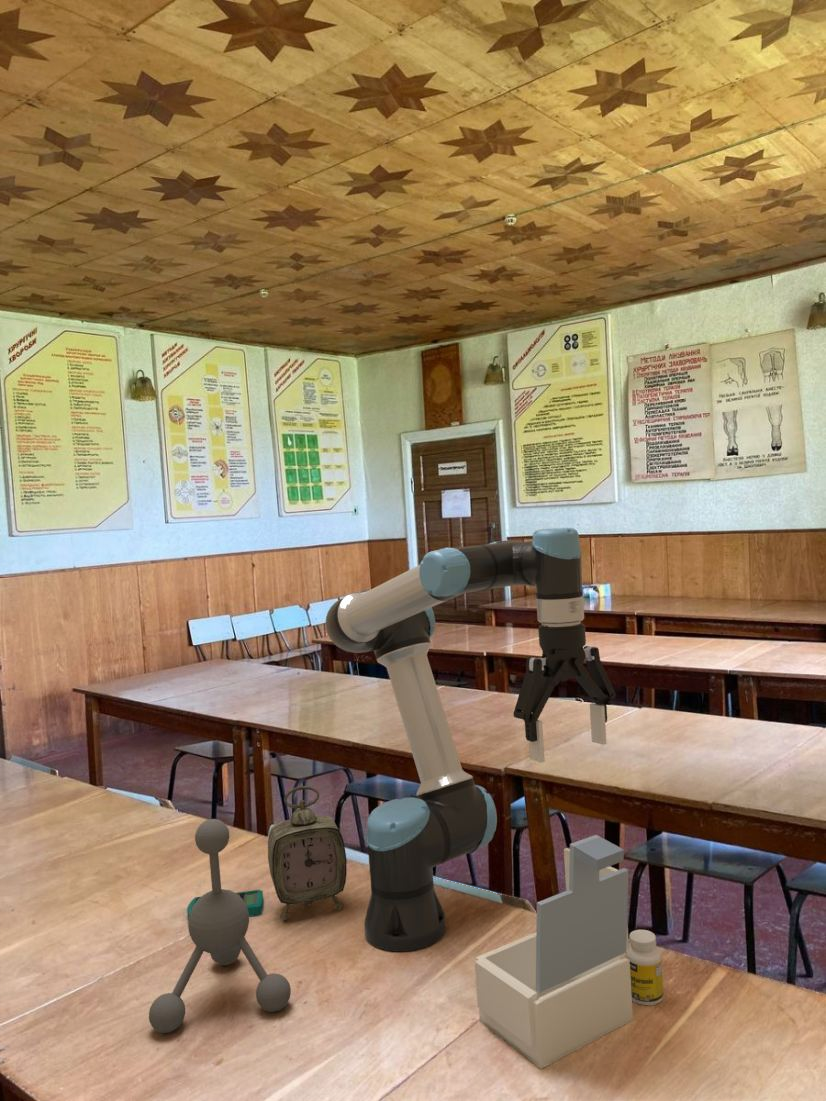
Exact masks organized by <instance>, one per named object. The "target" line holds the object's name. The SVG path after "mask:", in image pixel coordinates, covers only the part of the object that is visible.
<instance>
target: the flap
mask: <svg viewBox="0 0 826 1101" xmlns="http://www.w3.org/2000/svg"><path fill="white" fill-rule="evenodd" d="M569 849H570V866H569V890H567V891H566V890H564V891H563V892H560V893H557V894H555V895H552V896H550V897H547V898H545V899H543V900H540V901H537V902H536V931H535V932H536V991H538V992H539V993H541V992H543V991H545V990H547V989H549V988H552V987H554V986H556V985H558V984H560V983H562V982H564V981H566V980H568V979H571V978H573V977H575V976H577V975H579V974H581V973H583V972H585V971H588V970H590V969H592V968H594V967H596V966H598V965H600V964H602V963H605V962H607V961H609V960H611V959H613V958H615V957H617V956H619V955H621V954H624V955H625V954H626V943H627V924H628V901H629V872H630V871H629V869H628V868H626V867H623V868H620V869H617V870H618V871H615V872H613V873H610V874H607V875H605V876H602V877H600V878H599V870H601V869H604V868H606V867H609V866H611V867H612V866H614V865H617V864H619V863H621V862H624V856H625V849H623V848H621V847H620V846H618V845H617V844H614V843H612V842H611V841H609V840H607V839H605V838H603V837H602V836H600V835H598V834H594V835H592V836H588V837H586V838H583V839H580V840H578V841H574V842H571V843H569Z"/></svg>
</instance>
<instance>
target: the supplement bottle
mask: <svg viewBox="0 0 826 1101" xmlns="http://www.w3.org/2000/svg"><path fill="white" fill-rule="evenodd" d="M628 942H629V951H628V952H626V953H625V958H627V959H629V960H630V977H631V994H632V1002H634V1003H636V1004H638V1005H642V1006H655V1005H657V1003H658V1004H659V1003H661V1002H662V1000H663V999H664V980H663V977H664V976H663V964H662V963H663V958H662V952H661V950H660V949H659V948H658V947H657V937H656V935H655V933H654V932H652V931H650V930H647V929H635V930H632V931H631V932H630V933H629V934H628Z"/></svg>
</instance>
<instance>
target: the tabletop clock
mask: <svg viewBox="0 0 826 1101" xmlns="http://www.w3.org/2000/svg"><path fill="white" fill-rule="evenodd" d="M302 790H303V791H304V790H310V791H313V792H314V793H315V794H316V798H315V799H313V800H312V801H309V802H306V801H305V800H304V799H301V800H300V801H299V803H298V804H291V803H289V802H288V801H287V798H288V797H289V796H290V795H291V794H292V793H294V792H297V791H302ZM319 799H320V792H319V791H318V789H317V788H315V787H314V786H311V785H302V786H301V785H300V786H297V787H296V786H295V787H293V788H292V789H290V790H288V791H287V793H286V794H285V795H284V798H283V800H284V801H283V802H284V804H285V805H286V806H287V807H289V808H291V809H296V810H295V811H294V812H293V813H292V814H291V816H290V819H287V820H283V821H280V822H278V823H276V824H274V825H272V826H271V827H270V830H269V832H268V838H267V840H268V841H267V861H268V866H269V867H268V868H269V874H270V877H271V880H272V883H273V887H274V889H275V894H276V896H277V898H278V900H279V902H280V903H281V904H285V909H284V911H283V912H282V913H281V915H280V918H281V920H282V921H287V920H289V918H290V914H289V909H290V906H291V905H298V904H299V905H300V904H304V905H306V906H310V905H311V904H312V903H314V902H318V901H322V900H327V899H328V898H332V899H333V901H334V907H335V909H336V910H338V911H340V910H342V909H343V908H344V904H343V901H341V900H338V899H337V895H339V894H340V893H342V892H343V891H344V890H345V886H346V882H347V874H348V873H347V872H348V871H347V859H348V858H347V852H346V847H345V846H346V845H345V842H344V838H343V835H342V833H341V831H340V829H339V828H338V826H337V824H336V822H335V821H334V819H333V817H332V816H329V815H324V814H320V815H319V814H317V815H316V814H315V812H314V811H313V810H312V809H311V808H310V806H312V805H314V804H316V803H317V801H319Z"/></svg>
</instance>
